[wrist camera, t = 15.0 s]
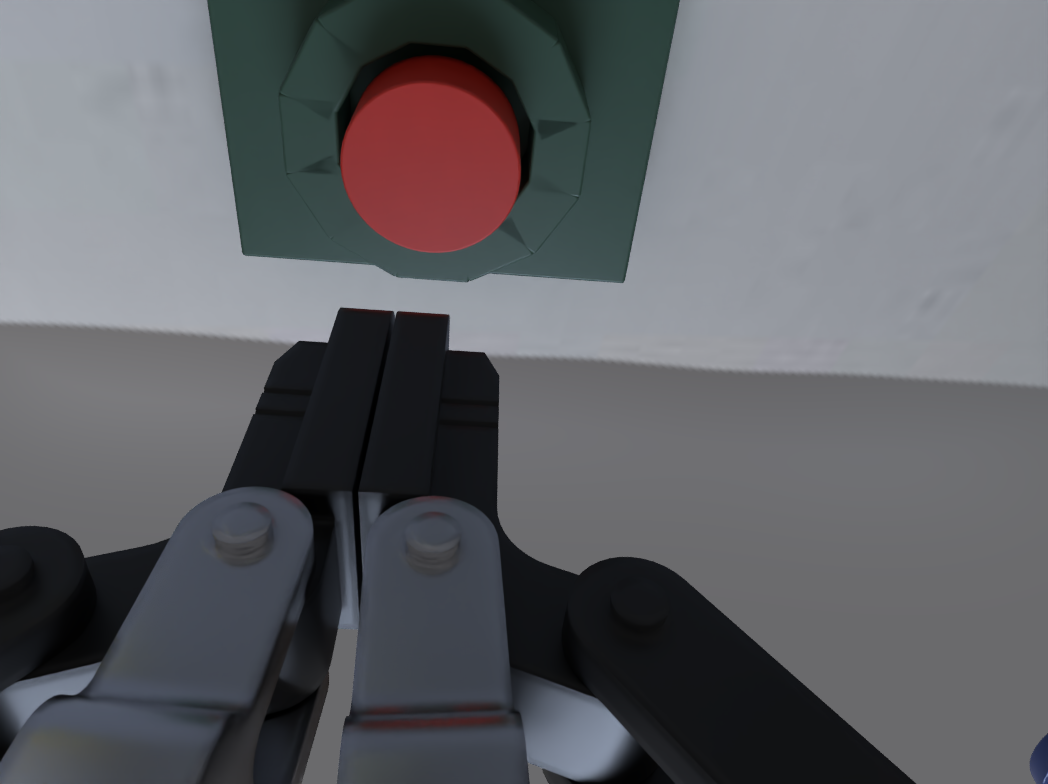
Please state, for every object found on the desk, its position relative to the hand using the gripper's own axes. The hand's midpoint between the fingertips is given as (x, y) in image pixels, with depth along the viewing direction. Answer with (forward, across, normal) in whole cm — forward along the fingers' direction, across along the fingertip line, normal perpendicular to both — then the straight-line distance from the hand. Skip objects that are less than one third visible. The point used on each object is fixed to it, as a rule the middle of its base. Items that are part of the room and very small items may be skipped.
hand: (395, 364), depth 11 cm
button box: (+11, 0, 0) cm, 11 cm away
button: (+8, 0, 0) cm, 8 cm away
